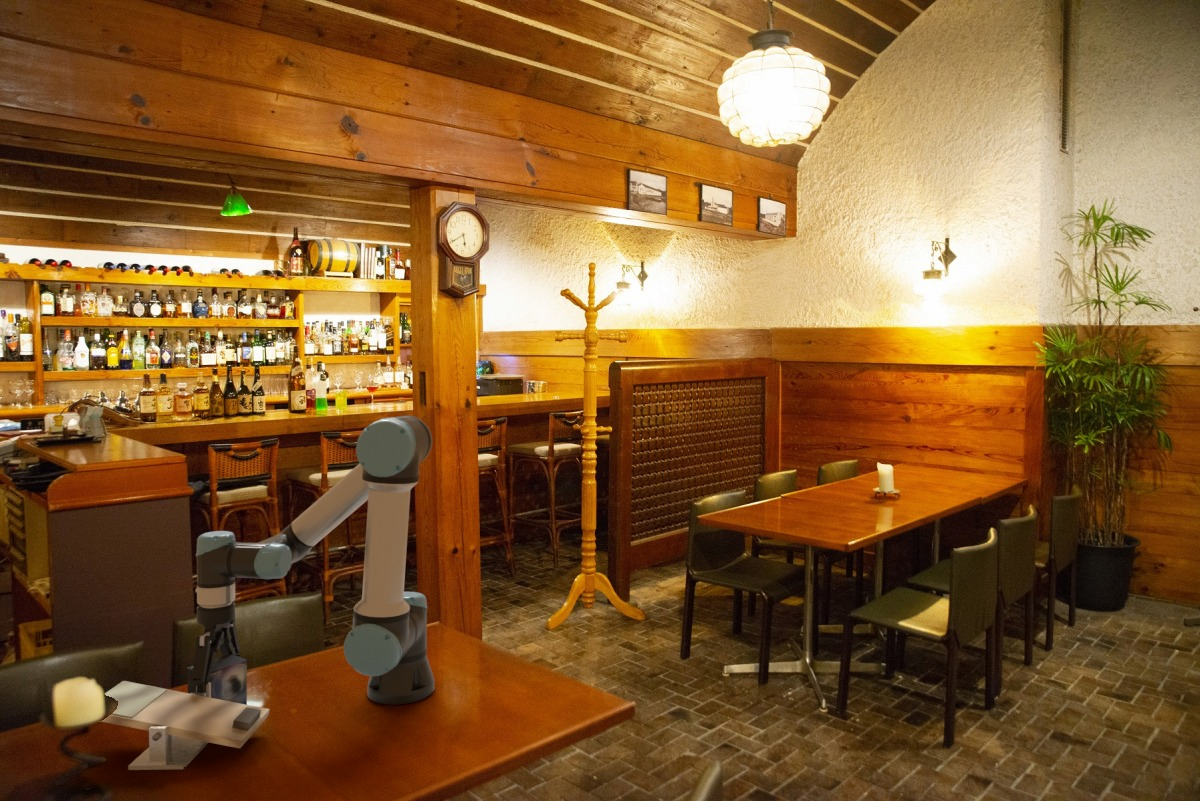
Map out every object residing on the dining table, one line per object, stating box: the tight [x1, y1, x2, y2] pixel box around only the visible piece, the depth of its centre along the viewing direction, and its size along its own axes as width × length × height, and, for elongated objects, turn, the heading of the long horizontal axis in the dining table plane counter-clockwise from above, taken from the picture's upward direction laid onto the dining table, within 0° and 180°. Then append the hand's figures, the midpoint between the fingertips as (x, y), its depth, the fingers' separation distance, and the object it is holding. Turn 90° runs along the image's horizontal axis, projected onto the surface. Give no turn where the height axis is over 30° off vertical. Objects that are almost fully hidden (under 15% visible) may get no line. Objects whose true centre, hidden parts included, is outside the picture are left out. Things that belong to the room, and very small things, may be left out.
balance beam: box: [100, 680, 270, 749], centre depth 156 cm, size 30×14×3 cm, turn 92°
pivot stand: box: [127, 692, 209, 771], centre depth 156 cm, size 10×18×8 cm, turn 2°
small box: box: [186, 654, 248, 705], centre depth 173 cm, size 11×6×10 cm, turn 148°
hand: (216, 701), depth 174 cm, fingers closed on small box, 12 cm apart
